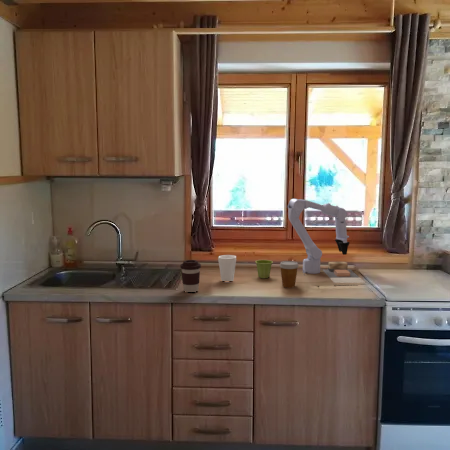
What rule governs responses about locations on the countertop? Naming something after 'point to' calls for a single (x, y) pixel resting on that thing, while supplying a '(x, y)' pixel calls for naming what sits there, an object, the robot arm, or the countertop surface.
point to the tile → (341, 272)
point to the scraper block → (337, 266)
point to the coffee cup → (190, 275)
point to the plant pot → (263, 268)
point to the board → (344, 278)
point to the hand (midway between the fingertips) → (342, 252)
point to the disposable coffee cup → (288, 273)
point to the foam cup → (227, 267)
